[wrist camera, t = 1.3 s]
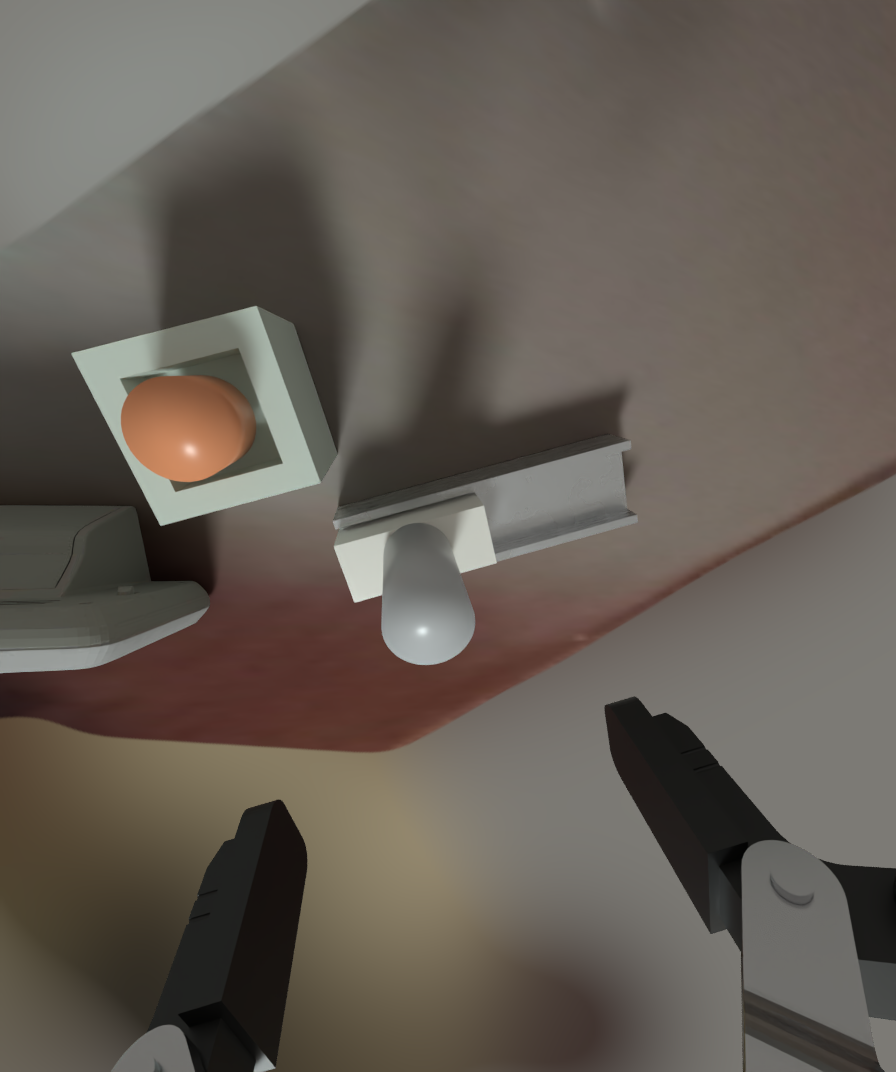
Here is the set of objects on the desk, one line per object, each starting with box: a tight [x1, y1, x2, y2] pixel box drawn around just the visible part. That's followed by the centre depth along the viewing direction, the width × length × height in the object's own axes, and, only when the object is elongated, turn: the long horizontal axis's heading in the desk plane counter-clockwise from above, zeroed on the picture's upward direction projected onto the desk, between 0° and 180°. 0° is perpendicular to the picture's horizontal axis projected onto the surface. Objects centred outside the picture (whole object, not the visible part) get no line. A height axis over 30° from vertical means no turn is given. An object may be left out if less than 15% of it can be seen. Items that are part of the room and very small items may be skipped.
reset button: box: [121, 375, 256, 482], centre depth 17 cm, size 4×4×3 cm
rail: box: [333, 434, 638, 562], centre depth 27 cm, size 17×5×3 cm, turn 103°
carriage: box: [334, 492, 497, 665], centre depth 22 cm, size 8×4×10 cm, turn 103°
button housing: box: [71, 306, 338, 526], centre depth 21 cm, size 7×7×7 cm
